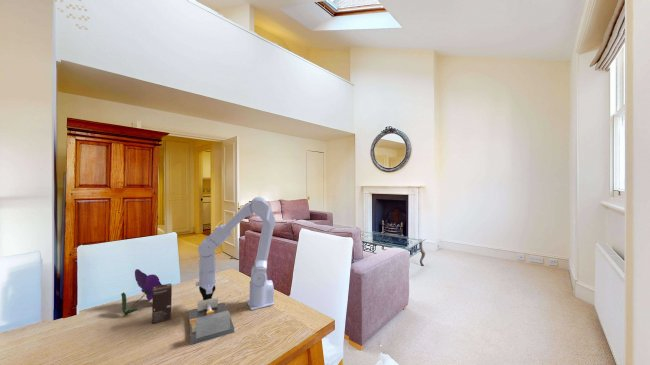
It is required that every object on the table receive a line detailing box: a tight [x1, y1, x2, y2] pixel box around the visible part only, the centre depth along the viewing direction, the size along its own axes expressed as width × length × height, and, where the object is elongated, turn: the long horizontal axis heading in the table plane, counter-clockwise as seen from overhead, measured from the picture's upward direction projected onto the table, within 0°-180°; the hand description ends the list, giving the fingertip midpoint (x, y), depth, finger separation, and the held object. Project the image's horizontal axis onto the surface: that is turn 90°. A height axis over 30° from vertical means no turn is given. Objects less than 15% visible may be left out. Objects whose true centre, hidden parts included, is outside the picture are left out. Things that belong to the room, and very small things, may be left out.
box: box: [151, 283, 173, 324], centre depth 93 cm, size 6×4×12 cm
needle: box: [190, 310, 214, 324], centre depth 89 cm, size 1×8×2 cm, turn 121°
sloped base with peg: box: [187, 301, 235, 345], centre depth 91 cm, size 20×13×6 cm, turn 31°
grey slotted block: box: [196, 296, 219, 312], centre depth 94 cm, size 8×7×3 cm
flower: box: [120, 268, 163, 316], centre depth 99 cm, size 15×15×14 cm
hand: (207, 304), depth 99 cm, fingers closed
